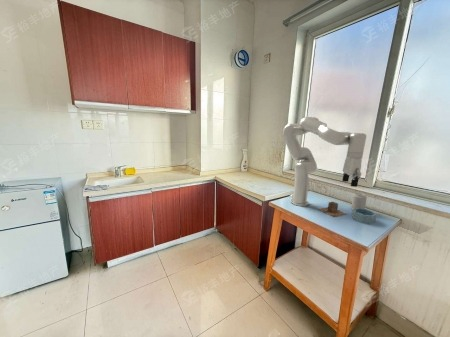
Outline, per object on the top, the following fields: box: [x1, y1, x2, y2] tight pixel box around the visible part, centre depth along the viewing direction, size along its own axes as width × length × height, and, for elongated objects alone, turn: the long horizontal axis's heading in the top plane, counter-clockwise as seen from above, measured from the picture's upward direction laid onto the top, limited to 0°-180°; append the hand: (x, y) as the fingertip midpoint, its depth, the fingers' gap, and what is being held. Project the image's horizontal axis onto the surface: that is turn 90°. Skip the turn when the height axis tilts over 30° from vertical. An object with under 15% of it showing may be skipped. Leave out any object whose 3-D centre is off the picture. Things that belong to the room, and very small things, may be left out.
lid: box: [318, 201, 348, 218], centre depth 126 cm, size 12×12×7 cm
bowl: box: [351, 208, 378, 225], centre depth 116 cm, size 11×11×5 cm
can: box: [351, 192, 368, 211], centre depth 128 cm, size 8×8×12 cm
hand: (349, 183), depth 111 cm, fingers open, 9 cm apart
